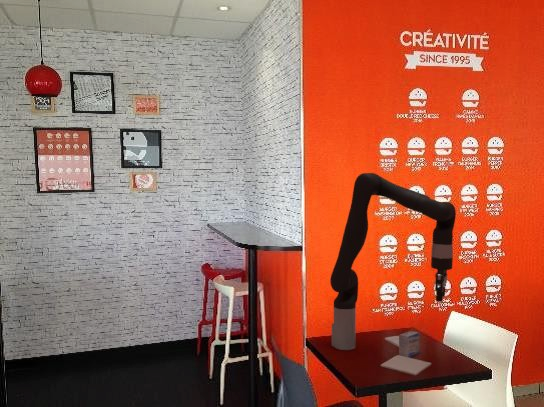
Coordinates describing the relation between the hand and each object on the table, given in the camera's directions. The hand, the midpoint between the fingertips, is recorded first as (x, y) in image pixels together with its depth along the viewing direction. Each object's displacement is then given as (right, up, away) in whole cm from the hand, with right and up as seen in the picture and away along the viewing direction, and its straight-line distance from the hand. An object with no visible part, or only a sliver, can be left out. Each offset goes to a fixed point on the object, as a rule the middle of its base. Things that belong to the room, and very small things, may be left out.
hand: (440, 298), depth 186 cm
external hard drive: (-7, -26, +31) cm, 41 cm away
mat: (-12, -26, +5) cm, 29 cm away
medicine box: (-7, -26, +17) cm, 32 cm away
